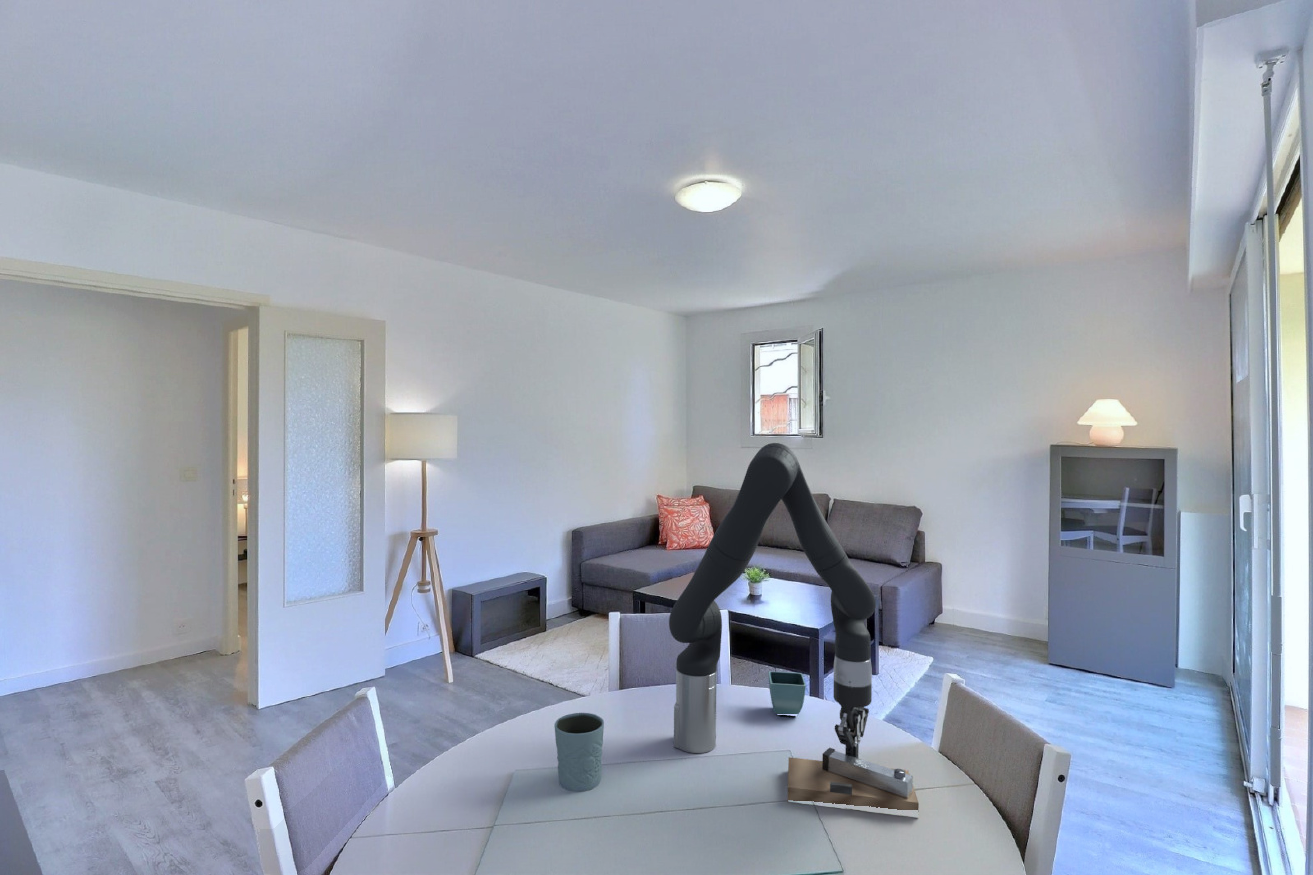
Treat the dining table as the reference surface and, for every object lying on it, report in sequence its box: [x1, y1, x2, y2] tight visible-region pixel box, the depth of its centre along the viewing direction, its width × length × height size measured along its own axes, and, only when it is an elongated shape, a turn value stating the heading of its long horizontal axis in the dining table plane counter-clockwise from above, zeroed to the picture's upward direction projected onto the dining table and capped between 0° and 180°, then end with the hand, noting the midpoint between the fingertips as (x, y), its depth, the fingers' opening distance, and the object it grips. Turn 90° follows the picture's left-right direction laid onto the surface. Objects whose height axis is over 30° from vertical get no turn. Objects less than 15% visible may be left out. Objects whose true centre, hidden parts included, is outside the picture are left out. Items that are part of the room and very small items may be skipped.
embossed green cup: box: [553, 712, 605, 793], centre depth 138 cm, size 10×10×12 cm
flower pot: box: [768, 670, 807, 715], centre depth 171 cm, size 9×9×9 cm
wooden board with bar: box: [787, 757, 920, 811], centre depth 134 cm, size 24×12×4 cm, turn 78°
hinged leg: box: [821, 747, 914, 798], centre depth 133 cm, size 17×3×4 cm, turn 52°
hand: (851, 761), depth 139 cm, fingers closed
